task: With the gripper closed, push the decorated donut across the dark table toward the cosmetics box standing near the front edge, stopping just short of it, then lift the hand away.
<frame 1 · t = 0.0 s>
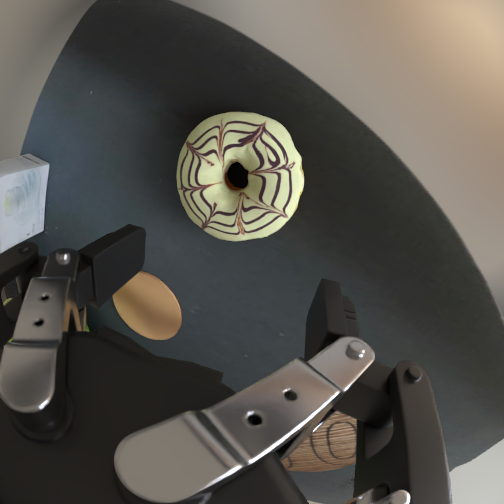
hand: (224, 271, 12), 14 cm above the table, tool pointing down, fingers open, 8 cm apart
decorated donut: (243, 173, 24), on the table
cosmetics box: (36, 191, 29), on the table
cork coaster: (145, 306, 32), on the table
trivet: (310, 437, 37), on the table
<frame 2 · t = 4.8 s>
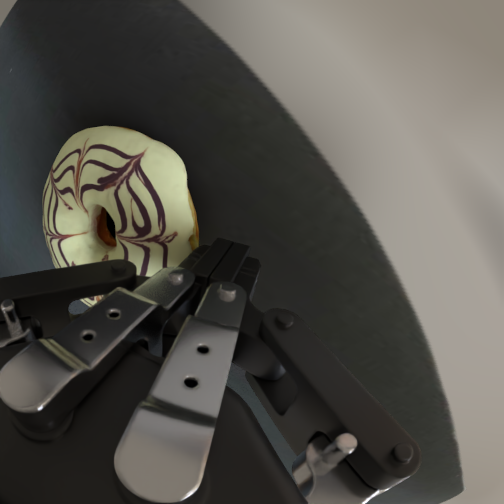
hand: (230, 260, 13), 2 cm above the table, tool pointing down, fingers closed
decorated donut: (130, 216, 15), on the table, touching gripper
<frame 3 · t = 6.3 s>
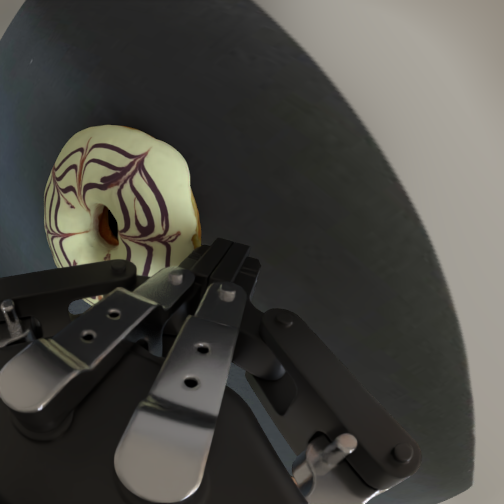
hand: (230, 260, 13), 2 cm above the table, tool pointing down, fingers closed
decorated donut: (132, 215, 15), on the table, touching gripper
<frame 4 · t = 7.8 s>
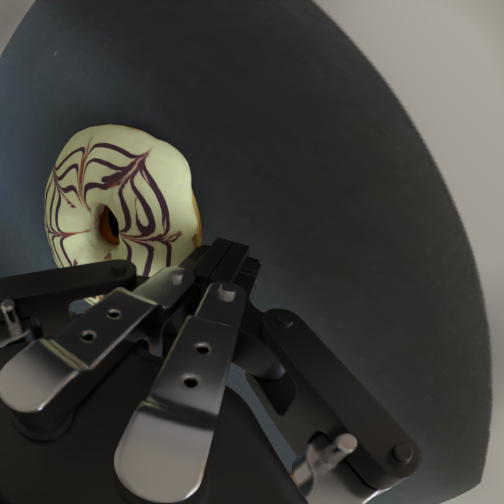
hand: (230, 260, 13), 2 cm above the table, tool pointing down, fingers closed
decorated donut: (133, 214, 15), on the table, touching gripper
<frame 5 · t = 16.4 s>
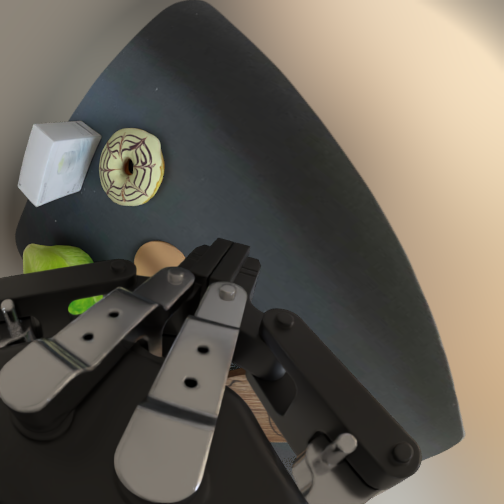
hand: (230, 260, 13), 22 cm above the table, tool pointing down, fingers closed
decorated donut: (139, 165, 35), on the table
cosmetics box: (81, 155, 36), on the table
cork coaster: (162, 271, 40), on the table
lettuce: (86, 269, 44), on the table
trivet: (268, 406, 49), on the table
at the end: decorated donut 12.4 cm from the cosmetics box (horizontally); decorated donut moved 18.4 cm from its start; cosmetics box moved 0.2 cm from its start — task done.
